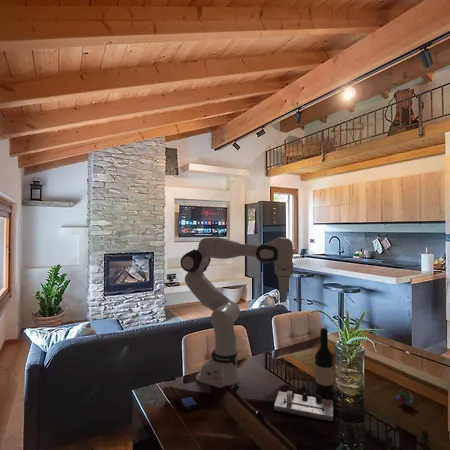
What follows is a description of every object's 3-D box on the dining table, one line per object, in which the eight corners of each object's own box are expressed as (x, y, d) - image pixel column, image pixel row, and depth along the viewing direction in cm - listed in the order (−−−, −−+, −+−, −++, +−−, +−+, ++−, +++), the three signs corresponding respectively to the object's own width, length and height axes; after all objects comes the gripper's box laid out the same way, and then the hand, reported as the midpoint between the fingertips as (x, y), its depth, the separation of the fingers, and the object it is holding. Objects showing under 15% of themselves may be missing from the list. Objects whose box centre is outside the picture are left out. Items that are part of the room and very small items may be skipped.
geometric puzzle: (404, 407, 131) (411, 390, 133) (389, 400, 137) (396, 383, 140) (412, 414, 133) (419, 397, 136) (397, 406, 140) (404, 390, 142)
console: (274, 410, 132) (274, 400, 132) (279, 395, 144) (279, 386, 145) (333, 421, 124) (332, 411, 124) (333, 405, 136) (332, 395, 137)
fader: (286, 403, 133) (286, 393, 134) (287, 399, 136) (287, 390, 136) (291, 404, 133) (291, 394, 133) (292, 400, 136) (292, 391, 136)
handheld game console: (201, 409, 133) (201, 392, 133) (177, 415, 128) (177, 397, 128) (191, 396, 144) (191, 379, 144) (168, 401, 139) (169, 384, 139)
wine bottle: (334, 395, 145) (334, 331, 146) (316, 393, 146) (315, 330, 148) (332, 387, 153) (331, 326, 154) (314, 385, 154) (314, 325, 156)
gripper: (277, 268, 161) (277, 294, 161) (276, 272, 141) (276, 302, 141) (290, 268, 160) (290, 295, 160) (290, 273, 140) (290, 303, 140)
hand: (283, 298), depth 150 cm, fingers open, 8 cm apart
